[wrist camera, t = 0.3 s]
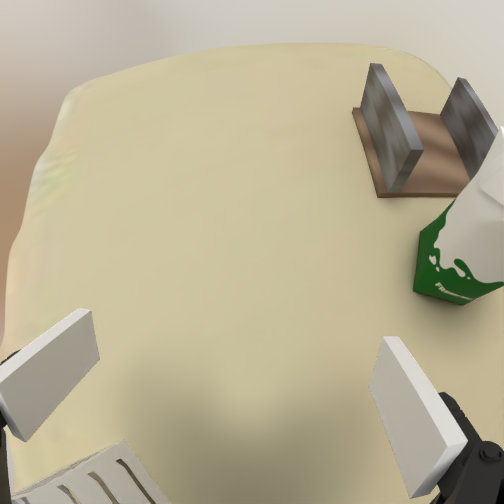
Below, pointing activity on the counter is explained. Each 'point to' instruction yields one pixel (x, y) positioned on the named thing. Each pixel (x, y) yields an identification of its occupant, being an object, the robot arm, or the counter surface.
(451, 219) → the soya milk
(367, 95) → the carton caddy
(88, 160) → the counter surface
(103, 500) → the grater
